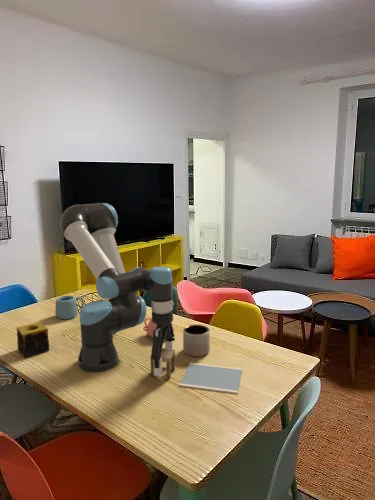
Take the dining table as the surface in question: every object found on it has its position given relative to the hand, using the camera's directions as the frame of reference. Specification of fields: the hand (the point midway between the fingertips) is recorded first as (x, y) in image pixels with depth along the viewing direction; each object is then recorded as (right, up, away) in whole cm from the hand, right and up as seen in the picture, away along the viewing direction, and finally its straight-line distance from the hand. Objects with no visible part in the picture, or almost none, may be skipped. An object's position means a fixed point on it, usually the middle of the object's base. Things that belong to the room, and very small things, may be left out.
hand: (163, 366), depth 137 cm
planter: (+12, 0, +18) cm, 22 cm away
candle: (-55, 0, +19) cm, 59 cm away
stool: (0, -3, +1) cm, 3 cm away
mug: (-52, +8, +58) cm, 78 cm away
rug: (+17, -3, -2) cm, 18 cm away
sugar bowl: (-5, +3, +33) cm, 34 cm away
